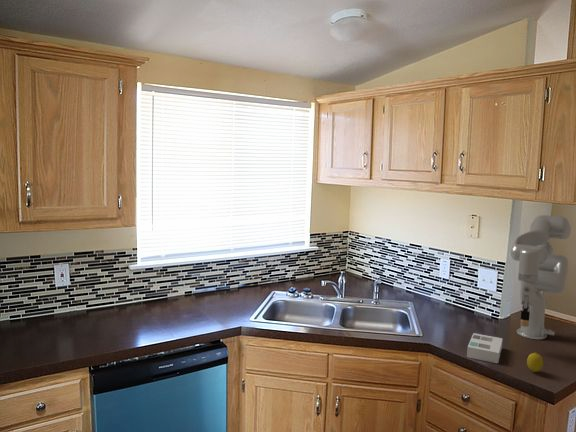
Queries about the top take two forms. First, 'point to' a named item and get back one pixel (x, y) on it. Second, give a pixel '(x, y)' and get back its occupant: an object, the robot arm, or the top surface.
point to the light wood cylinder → (525, 322)
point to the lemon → (535, 362)
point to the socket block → (484, 348)
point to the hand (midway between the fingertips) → (525, 318)
